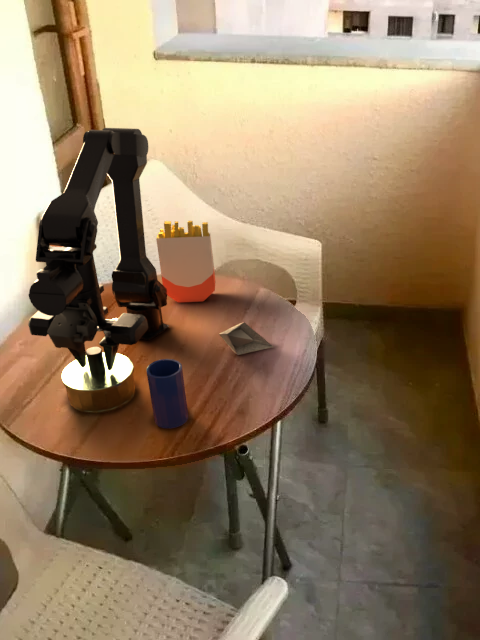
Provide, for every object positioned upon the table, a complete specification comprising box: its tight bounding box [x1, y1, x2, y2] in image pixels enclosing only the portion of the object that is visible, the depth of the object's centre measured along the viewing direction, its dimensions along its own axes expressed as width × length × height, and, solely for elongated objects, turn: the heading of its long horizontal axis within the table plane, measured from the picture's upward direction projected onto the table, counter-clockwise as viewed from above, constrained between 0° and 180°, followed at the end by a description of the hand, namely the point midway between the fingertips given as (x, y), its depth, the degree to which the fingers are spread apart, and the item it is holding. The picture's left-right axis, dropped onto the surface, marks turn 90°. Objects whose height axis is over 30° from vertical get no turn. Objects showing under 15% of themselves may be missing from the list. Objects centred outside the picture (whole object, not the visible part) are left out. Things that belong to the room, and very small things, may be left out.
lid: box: [61, 346, 135, 393], centre depth 124 cm, size 12×12×5 cm
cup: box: [145, 358, 189, 429], centre depth 118 cm, size 6×6×10 cm
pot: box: [65, 373, 136, 415], centre depth 126 cm, size 11×11×4 cm
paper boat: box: [218, 321, 274, 356], centre depth 137 cm, size 12×6×9 cm
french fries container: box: [155, 220, 216, 303], centre depth 153 cm, size 5×11×18 cm, turn 95°
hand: (97, 367), depth 124 cm, fingers open, 5 cm apart
